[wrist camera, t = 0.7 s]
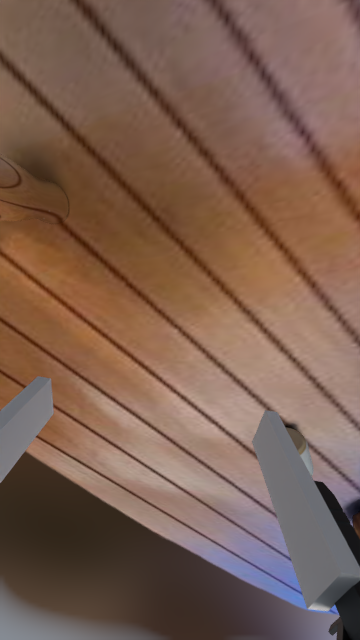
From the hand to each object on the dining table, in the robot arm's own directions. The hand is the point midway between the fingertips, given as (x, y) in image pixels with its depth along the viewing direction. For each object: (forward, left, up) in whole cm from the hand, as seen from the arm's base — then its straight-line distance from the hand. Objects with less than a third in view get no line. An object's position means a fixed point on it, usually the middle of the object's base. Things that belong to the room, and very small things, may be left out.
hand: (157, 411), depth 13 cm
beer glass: (-12, -22, -27) cm, 37 cm away
